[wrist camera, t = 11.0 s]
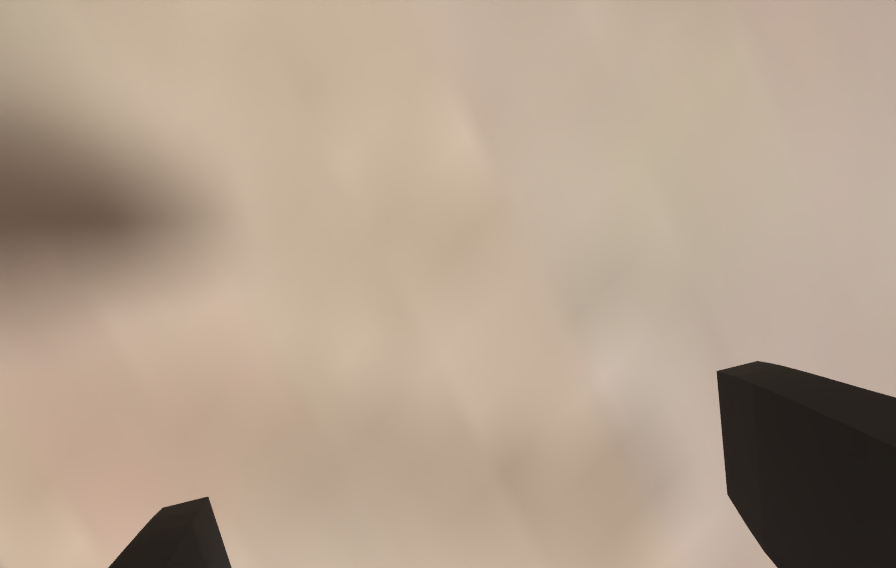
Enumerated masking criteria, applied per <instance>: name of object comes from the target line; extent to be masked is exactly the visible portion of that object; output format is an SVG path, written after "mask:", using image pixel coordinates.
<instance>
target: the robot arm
mask: <svg viewBox="0 0 896 568" xmlns="http://www.w3.org/2000/svg"><path fill="white" fill-rule="evenodd" d="M717 380H718V391H719V403H720V414H721V426H722V437H723V449H724V460H725V471H726V483H727V494H728V496H729V498H730V499H731V501H732V503H733V504H734V506H735V507H736V509H737V511H738V512H739V514H740V515H741V517H742V519H743V520H744V522H745V523H746V525H747V527H748V528H749V530H750V531H751V533H752V534H753V536H754V537H755V538H756V540H757V541H758V543H759V544H760V546H761V547H762V549H763V550H764V552H765V553H766V554H767V555H768V557H769V558H770V559H771V560H772V561H773V563H774V564H775V565H776V566H777V567H778V568H896V398H895V397H891V396H888V395H884V394H881V393H877V392H874V391H870V390H866V389H863V388H859V387H856V386H853V385H849V384H846V383H842V382H839V381H835V380H832V379H828V378H825V377H821V376H818V375H814V374H811V373H807V372H804V371H800V370H796V369H792V368H789V367H785V366H780V365H776V364H771V363H766V362H760V361H756V362H752V363H748V364H744V365H740V366H736V367H732V368H728V369H724V370H719V371H717ZM109 568H231V565H230V562H229V559H228V556H227V553H226V550H225V547H224V544H223V540H222V537H221V534H220V531H219V528H218V525H217V522H216V519H215V516H214V513H213V510H212V507H211V504H210V501H209V498H208V497H205V498H201V499H197V500H193V501H189V502H184V503H180V504H176V505H172V506H168V507H164V508H162V509H161V510H160V511H159V512H158V513H157V514H156V515H155V516H154V517H153V518H152V519H151V520H150V521H149V522H148V523H147V524H146V525H145V527H144V528H143V529H142V530H141V531H140V532H139V533H138V534H137V536H136V537H135V538H134V539H133V540H132V541H131V542H130V544H129V545H128V546H127V547H126V548H125V549H124V550H123V552H122V553H121V554H120V555H119V556H118V557H117V559H116V560H115V561H114V562H113V563H112V564H111V565H110V566H109Z"/></svg>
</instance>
